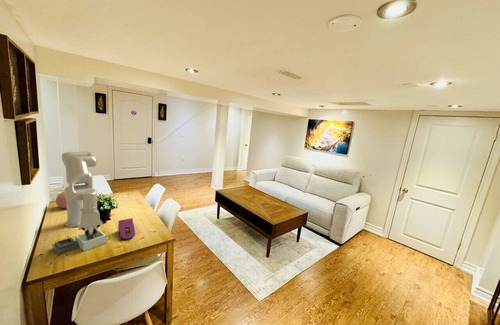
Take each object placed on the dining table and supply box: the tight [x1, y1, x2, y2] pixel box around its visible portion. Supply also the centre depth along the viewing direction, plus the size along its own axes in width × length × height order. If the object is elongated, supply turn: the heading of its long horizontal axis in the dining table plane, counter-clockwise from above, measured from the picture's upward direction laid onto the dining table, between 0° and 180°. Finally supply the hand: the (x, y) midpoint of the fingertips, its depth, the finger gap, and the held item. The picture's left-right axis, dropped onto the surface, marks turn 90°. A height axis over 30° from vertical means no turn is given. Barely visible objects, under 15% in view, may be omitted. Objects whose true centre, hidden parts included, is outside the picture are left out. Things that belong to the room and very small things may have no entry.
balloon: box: [55, 192, 67, 209], centre depth 193 cm, size 15×20×15 cm
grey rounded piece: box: [87, 226, 96, 241], centre depth 139 cm, size 5×5×13 cm
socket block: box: [51, 236, 79, 255], centre depth 133 cm, size 10×10×4 cm
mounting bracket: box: [117, 218, 136, 241], centre depth 156 cm, size 9×8×18 cm
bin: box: [74, 228, 108, 252], centre depth 140 cm, size 13×13×6 cm
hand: (91, 234), depth 139 cm, fingers closed on grey rounded piece, 3 cm apart
